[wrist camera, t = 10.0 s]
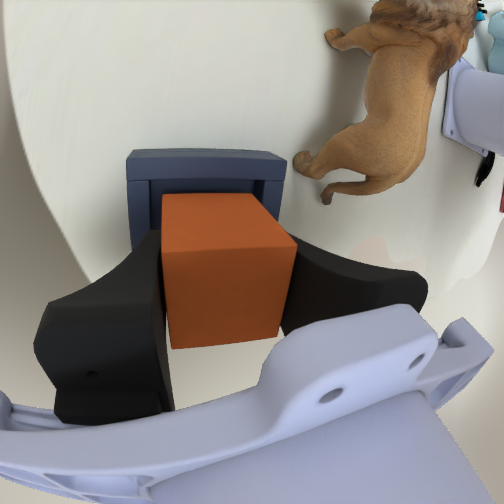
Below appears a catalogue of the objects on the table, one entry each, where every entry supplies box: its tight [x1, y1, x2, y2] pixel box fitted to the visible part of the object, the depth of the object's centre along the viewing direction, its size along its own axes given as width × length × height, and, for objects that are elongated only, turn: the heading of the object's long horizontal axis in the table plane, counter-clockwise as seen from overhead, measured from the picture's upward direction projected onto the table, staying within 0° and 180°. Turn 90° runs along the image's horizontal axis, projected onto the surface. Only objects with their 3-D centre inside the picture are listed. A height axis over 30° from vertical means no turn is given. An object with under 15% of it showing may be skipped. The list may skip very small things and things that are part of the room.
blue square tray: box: [126, 149, 287, 251], centre depth 14 cm, size 7×7×2 cm
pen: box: [476, 150, 495, 187], centre depth 18 cm, size 14×2×1 cm
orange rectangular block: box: [161, 193, 297, 349], centre depth 11 cm, size 4×4×5 cm
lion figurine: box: [294, 0, 478, 205], centre depth 10 cm, size 15×5×9 cm, turn 176°
